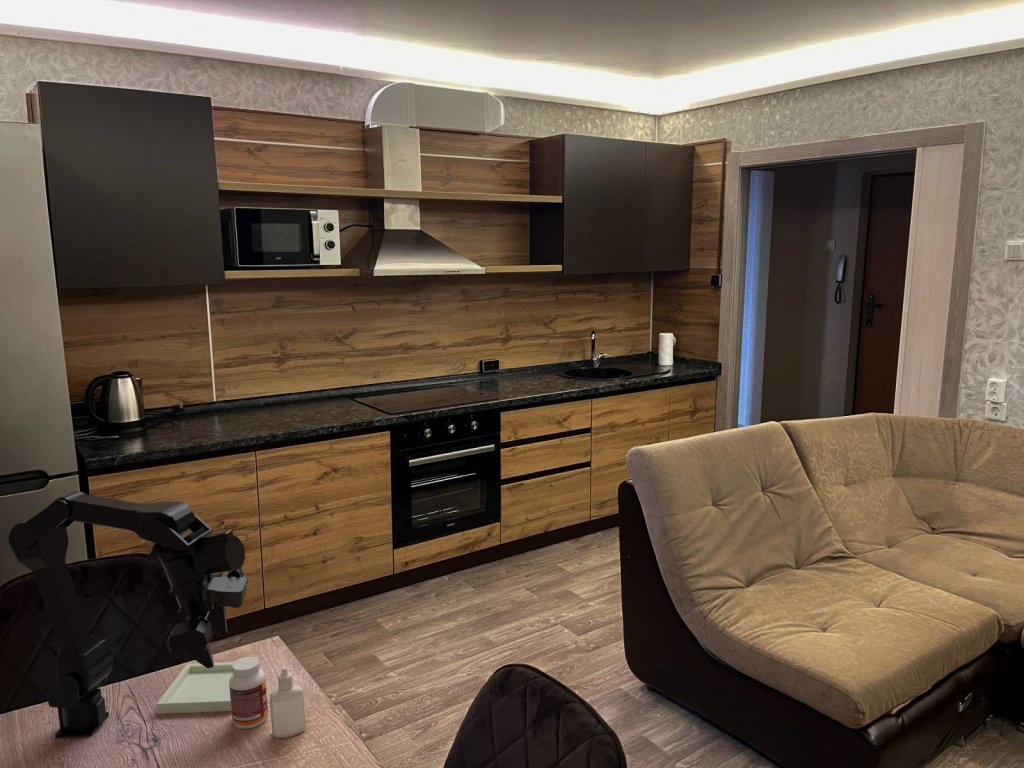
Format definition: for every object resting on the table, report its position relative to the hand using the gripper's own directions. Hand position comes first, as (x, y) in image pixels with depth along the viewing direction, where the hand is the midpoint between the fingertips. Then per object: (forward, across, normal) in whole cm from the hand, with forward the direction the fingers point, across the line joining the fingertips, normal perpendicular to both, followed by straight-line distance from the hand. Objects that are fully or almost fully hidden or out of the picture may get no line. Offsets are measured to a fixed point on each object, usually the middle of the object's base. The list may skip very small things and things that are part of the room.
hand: (217, 650), depth 132 cm
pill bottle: (+15, -2, -1) cm, 15 cm away
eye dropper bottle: (+16, -6, -9) cm, 19 cm away
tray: (+14, +9, +9) cm, 19 cm away
